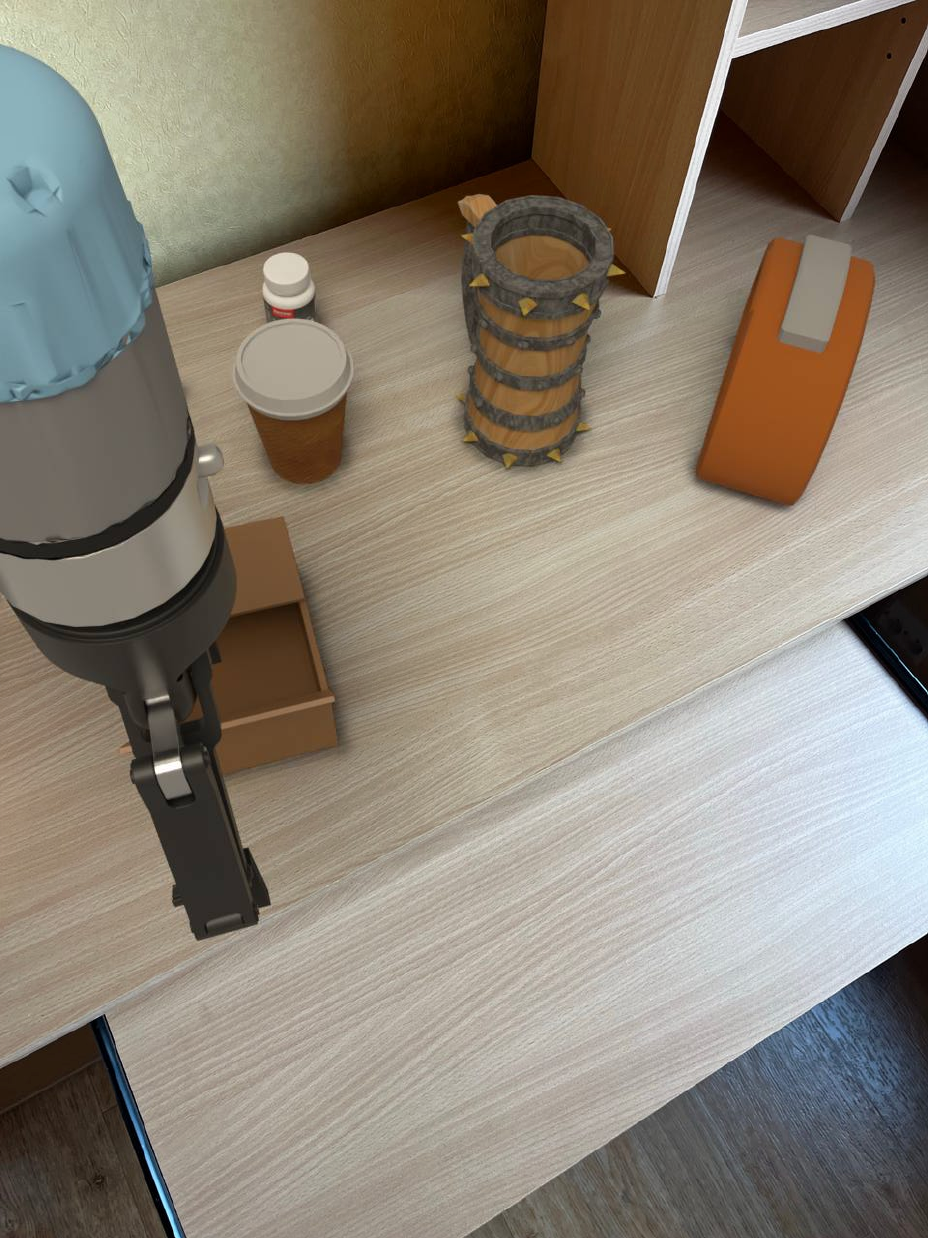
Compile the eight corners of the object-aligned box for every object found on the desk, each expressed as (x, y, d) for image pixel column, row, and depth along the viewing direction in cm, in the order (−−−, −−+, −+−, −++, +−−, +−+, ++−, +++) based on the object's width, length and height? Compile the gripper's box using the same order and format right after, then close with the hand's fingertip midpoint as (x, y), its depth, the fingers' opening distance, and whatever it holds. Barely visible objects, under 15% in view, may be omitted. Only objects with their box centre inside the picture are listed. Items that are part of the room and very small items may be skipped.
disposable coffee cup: (292, 517, 89) (275, 424, 79) (229, 447, 93) (205, 349, 82) (382, 463, 93) (377, 366, 82) (318, 397, 96) (306, 296, 86)
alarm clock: (741, 315, 103) (793, 167, 89) (832, 340, 102) (900, 193, 88) (686, 497, 92) (735, 360, 78) (787, 527, 91) (857, 394, 76)
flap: (334, 695, 64) (335, 701, 64) (328, 689, 71) (329, 694, 71) (117, 748, 62) (119, 755, 62) (134, 736, 69) (136, 742, 69)
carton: (296, 581, 86) (283, 514, 78) (338, 745, 79) (329, 690, 71) (135, 617, 84) (105, 552, 76) (163, 789, 77) (133, 738, 69)
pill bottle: (275, 360, 98) (263, 291, 91) (265, 324, 100) (253, 254, 93) (325, 351, 99) (317, 281, 92) (314, 315, 101) (306, 245, 94)
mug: (498, 499, 91) (517, 328, 74) (400, 369, 98) (396, 185, 81) (620, 441, 95) (665, 265, 78) (516, 320, 102) (536, 134, 85)
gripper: (295, 859, 30) (345, 1002, 48) (165, 266, 42) (245, 561, 60) (24, 933, 29) (181, 1051, 47) (-31, 301, 41) (111, 591, 59)
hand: (217, 776), depth 54 cm, fingers open, 13 cm apart
